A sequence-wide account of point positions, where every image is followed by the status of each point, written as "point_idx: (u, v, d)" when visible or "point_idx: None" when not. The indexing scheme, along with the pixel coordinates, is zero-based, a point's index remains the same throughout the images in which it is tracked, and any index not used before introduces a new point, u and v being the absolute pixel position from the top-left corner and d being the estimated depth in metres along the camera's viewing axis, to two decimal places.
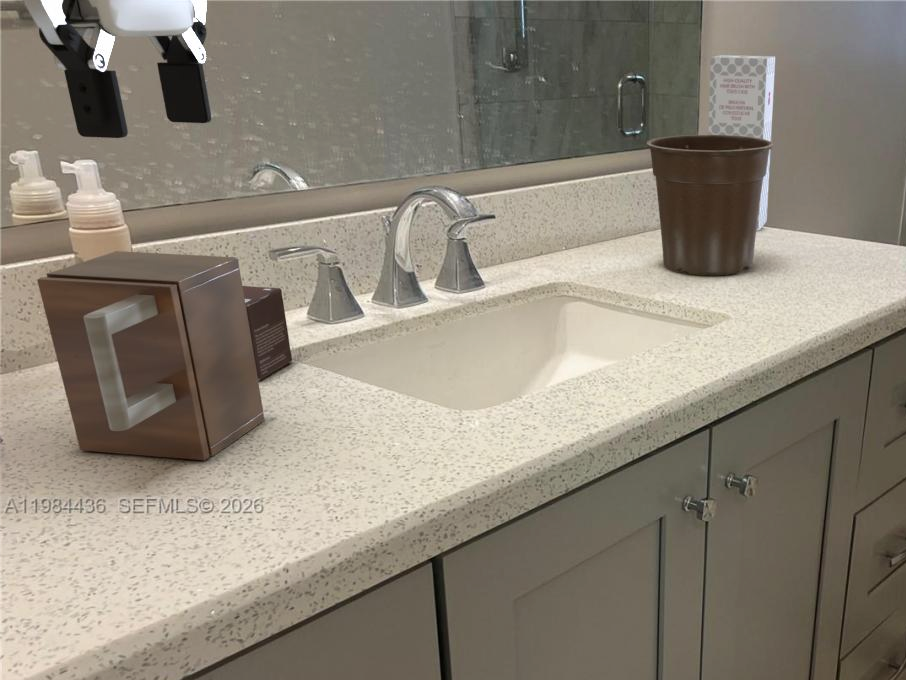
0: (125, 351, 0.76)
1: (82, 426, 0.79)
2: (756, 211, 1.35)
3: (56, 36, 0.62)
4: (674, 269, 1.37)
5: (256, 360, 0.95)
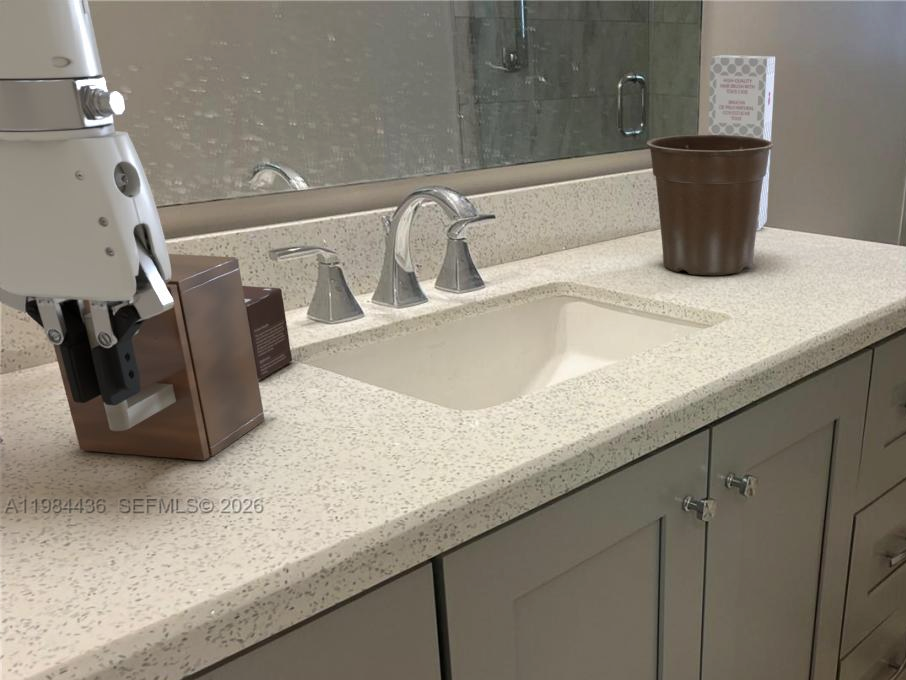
0: None
1: (82, 426, 0.79)
2: (756, 211, 1.35)
3: None
4: (674, 269, 1.37)
5: (256, 360, 0.95)
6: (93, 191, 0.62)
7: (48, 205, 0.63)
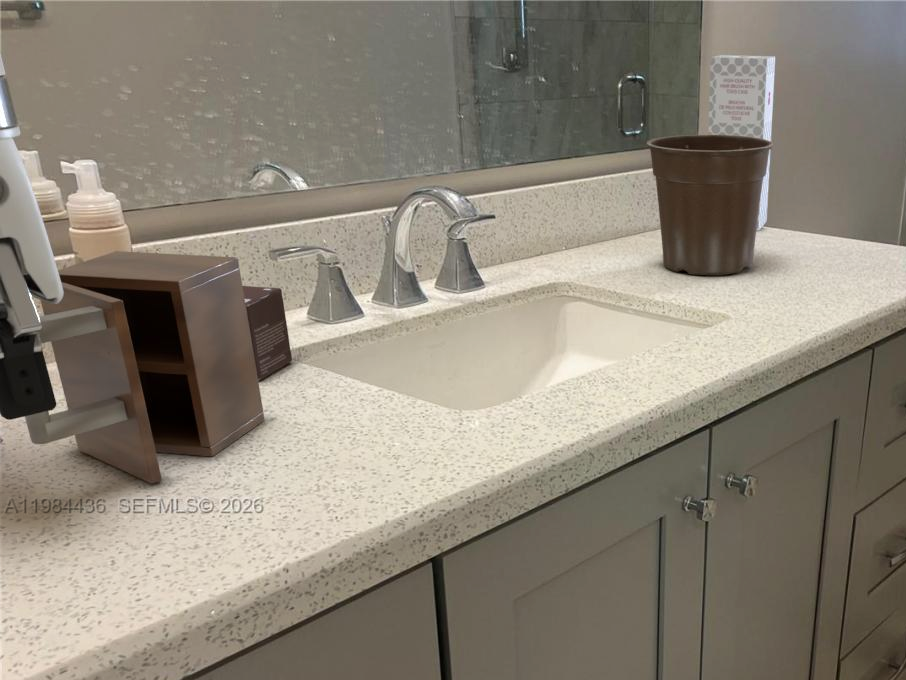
0: (92, 361, 0.74)
1: None
2: (756, 211, 1.35)
3: None
4: (674, 269, 1.37)
5: (256, 360, 0.95)
6: None
7: None
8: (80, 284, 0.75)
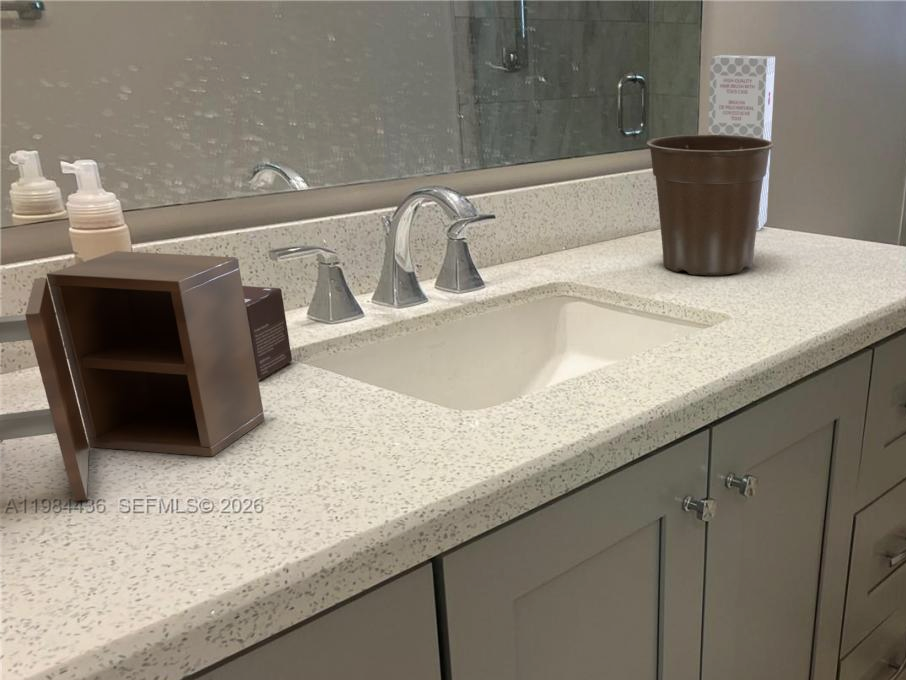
0: None
1: None
2: (756, 211, 1.35)
3: None
4: (674, 269, 1.37)
5: (256, 360, 0.95)
6: None
7: None
8: (80, 284, 0.75)
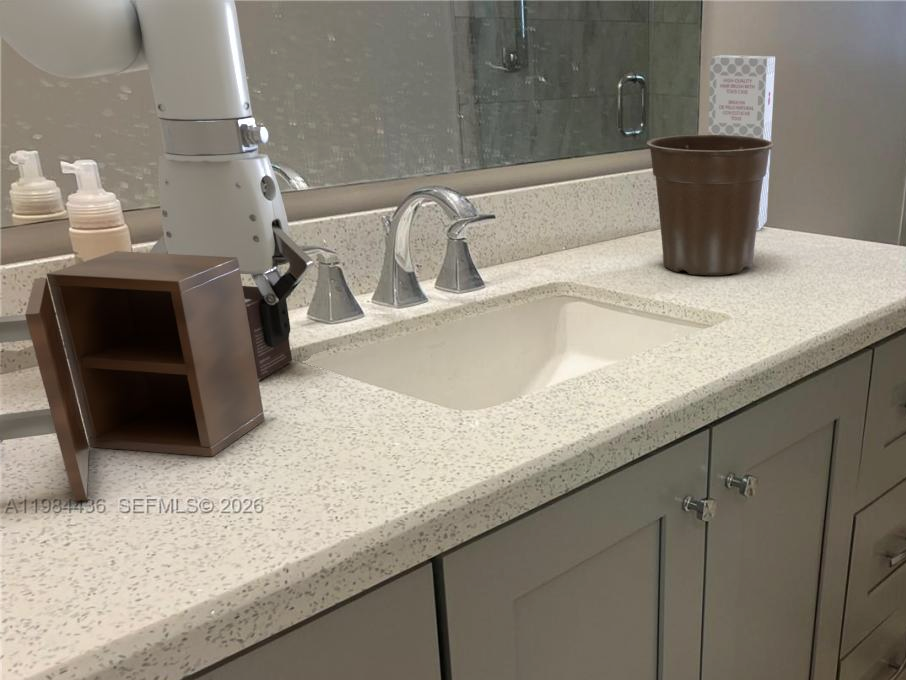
0: None
1: None
2: (756, 211, 1.35)
3: None
4: (674, 269, 1.37)
5: (256, 360, 0.95)
6: (247, 197, 0.89)
7: (215, 206, 0.90)
8: (80, 284, 0.75)
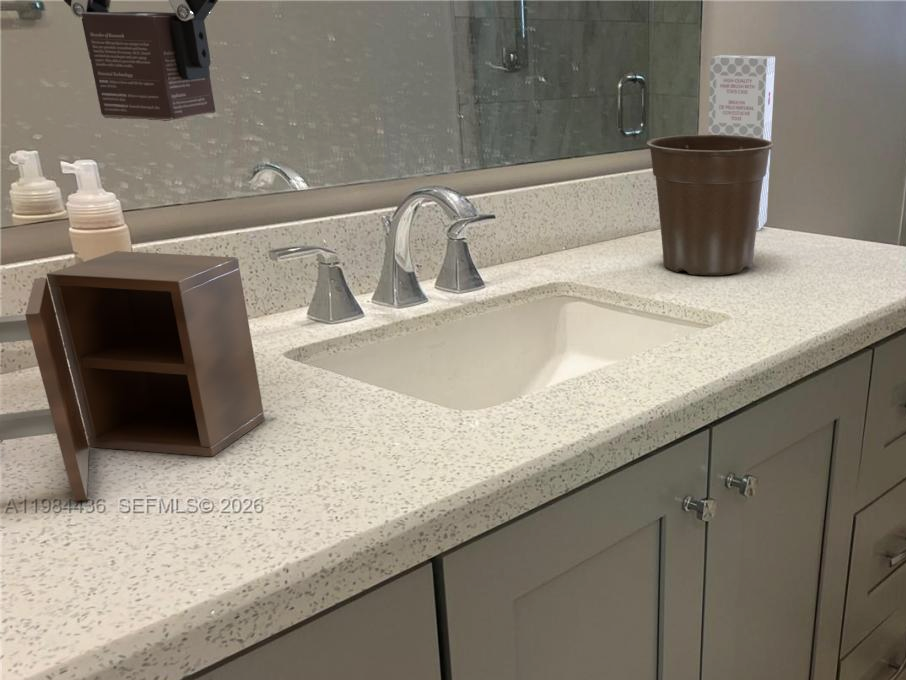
0: None
1: None
2: (756, 211, 1.35)
3: None
4: (674, 269, 1.37)
5: (167, 92, 0.77)
6: None
7: None
8: (80, 284, 0.75)
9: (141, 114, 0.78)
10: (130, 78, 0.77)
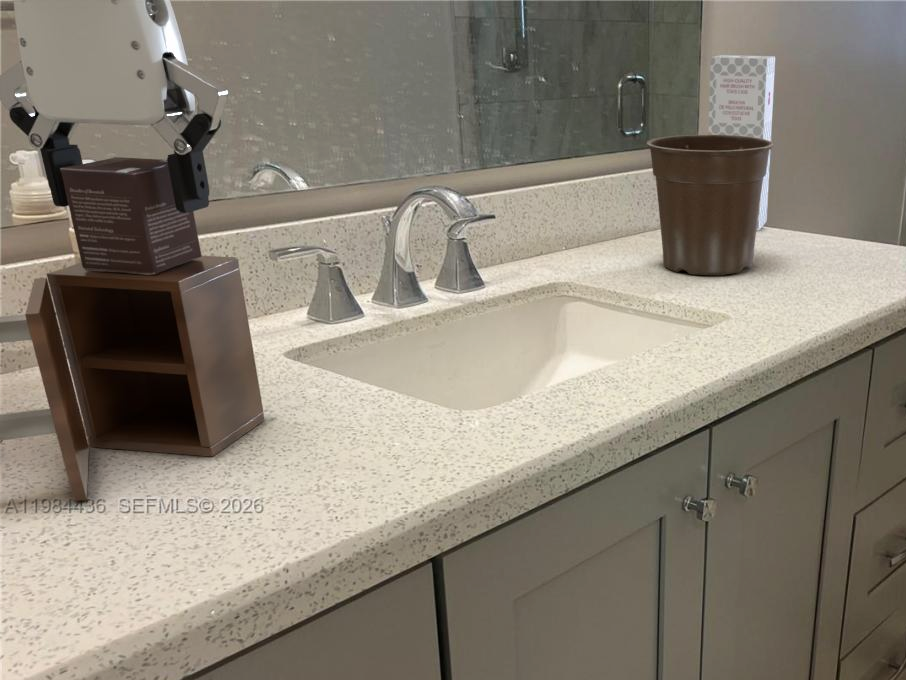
0: None
1: None
2: (756, 211, 1.35)
3: None
4: (674, 269, 1.37)
5: (149, 247, 0.74)
6: (126, 16, 0.68)
7: (85, 29, 0.69)
8: (80, 284, 0.75)
9: (123, 268, 0.75)
10: (111, 234, 0.74)
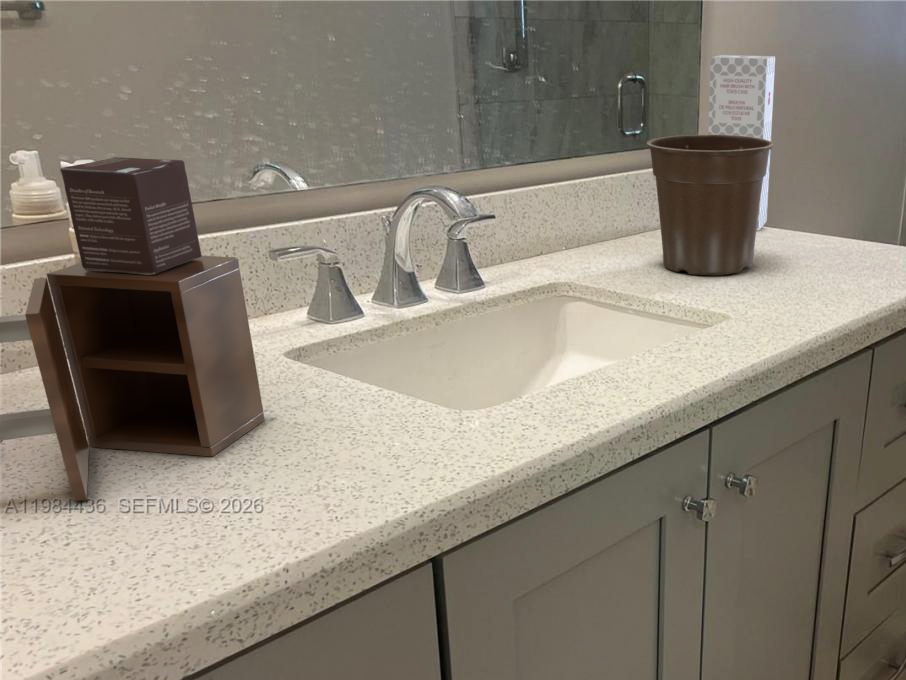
0: None
1: None
2: (756, 211, 1.35)
3: None
4: (674, 269, 1.37)
5: (149, 247, 0.74)
6: None
7: None
8: (80, 284, 0.75)
9: (123, 268, 0.75)
10: (111, 234, 0.74)
